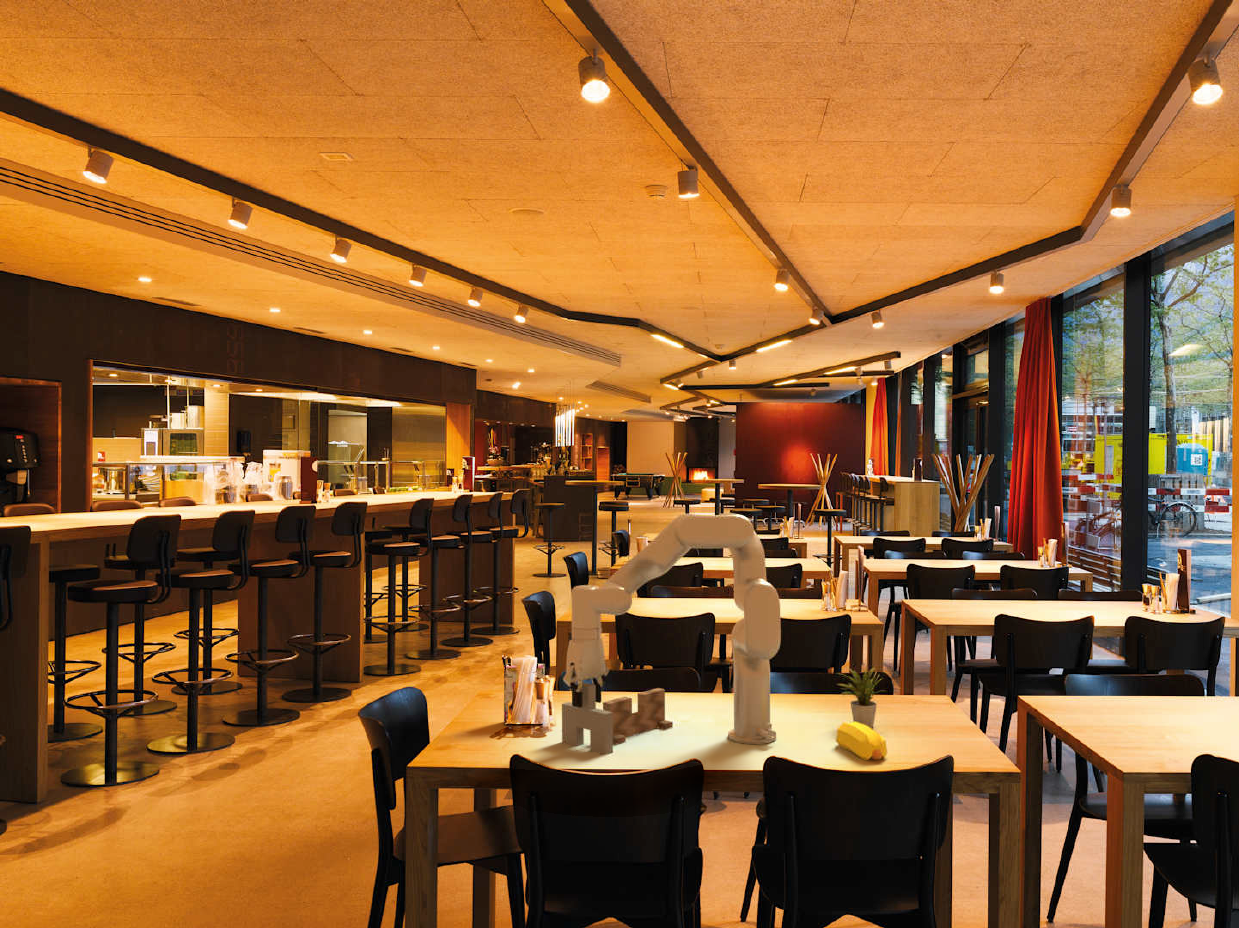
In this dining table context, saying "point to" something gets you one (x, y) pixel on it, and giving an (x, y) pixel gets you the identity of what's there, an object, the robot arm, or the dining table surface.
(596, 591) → the robot arm
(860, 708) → the house plant
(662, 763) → the dining table surface
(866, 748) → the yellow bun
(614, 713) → the walnut slotted stand
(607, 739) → the grey slotted plate
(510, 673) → the candy bar box
